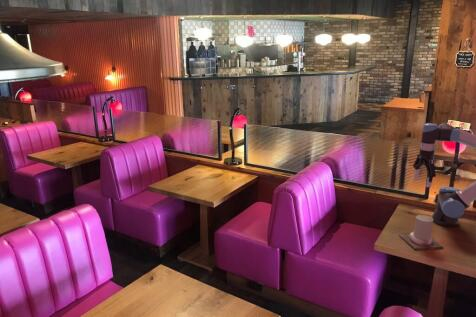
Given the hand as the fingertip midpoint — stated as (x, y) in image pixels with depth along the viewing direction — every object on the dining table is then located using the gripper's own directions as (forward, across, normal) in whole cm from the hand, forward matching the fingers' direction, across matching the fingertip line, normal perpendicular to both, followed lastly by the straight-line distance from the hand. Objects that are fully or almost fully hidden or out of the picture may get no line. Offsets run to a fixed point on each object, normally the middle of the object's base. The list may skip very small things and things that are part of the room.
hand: (422, 183), depth 242 cm
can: (+25, +20, -9) cm, 33 cm away
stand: (+29, +20, -9) cm, 36 cm away
